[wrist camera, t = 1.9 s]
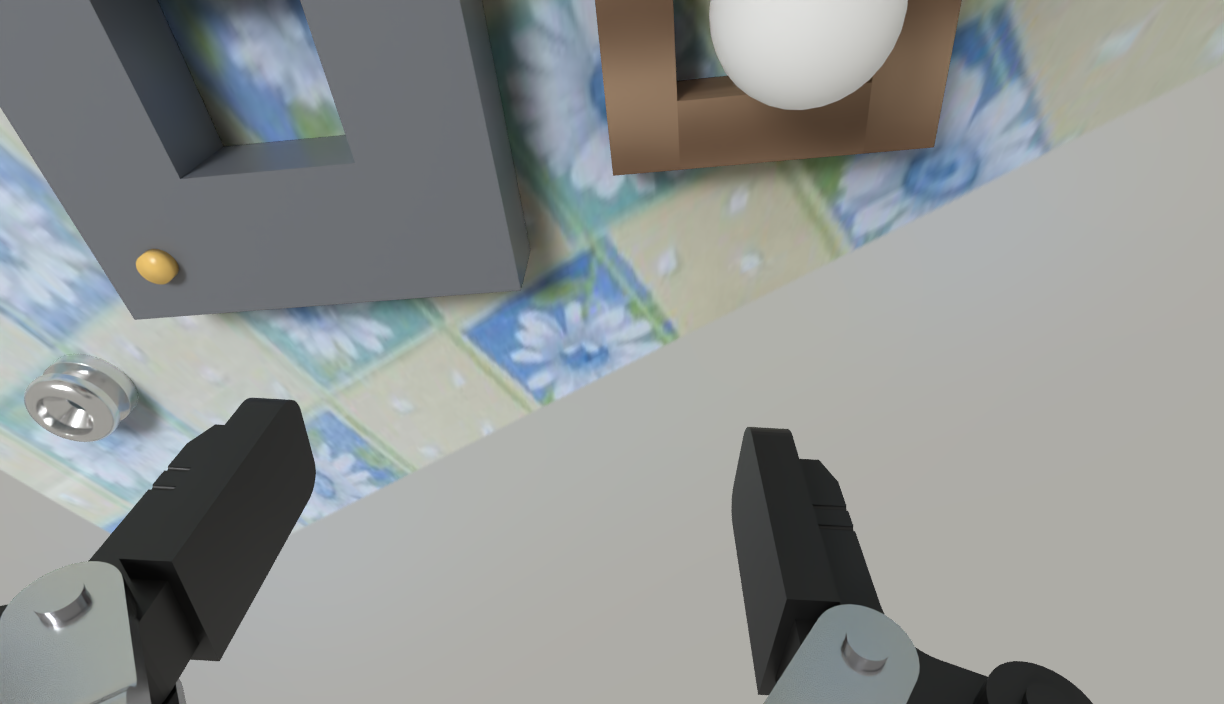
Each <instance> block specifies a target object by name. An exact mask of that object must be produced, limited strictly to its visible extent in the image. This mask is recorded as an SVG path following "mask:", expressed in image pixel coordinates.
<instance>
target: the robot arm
mask: <svg viewBox="0 0 1224 704" xmlns="http://www.w3.org/2000/svg"><path fill="white" fill-rule="evenodd" d="M315 474H316V469H315V462H314V458H313V454H312V451H311V447H310V443H309V439H308V436H307V432H306V428H305V424H304V421H303V417H302V413H301V410H300V407H299V405H298V404H297V402H295V401H294V400H283V399H265V398H248V399H246V400H245V401H244V402H243V403H242V404H241V405H240V406H239V408H238V409H237V410H236V412H235V413H234V414H233V415H232V417H231V418H230V419H229V420H228V422H227V423H226V424H225V425H214V426H212V427H211V428H209V429H208V430H207V431H205V432H204V433H202V434H201V435H199V436H198V437H196V438H195V439H193V440H192V441H190V442H189V443H187V444H186V445H185V447H184V448H183V449H182V450H181V451H180V453H179V454H178V455H177V456H176V457H175V459H174V460H173V461H172V462H171V463H170V465H169V466H168V470H167V471H164V472H163V473H162V474H161V475H160V476H159V478H158V479H157V480H156V481H155V482H154V484H153V488H152V490H148V491H147V492H146V493H145V494H144V496H143V497H142V498H141V499H140V500H139V502H138V503H137V504H136V505H135V506H134V508H133V509H132V510H131V511H130V512H129V513H128V515H127V516H126V517H125V518H124V519H123V521H122V522H121V523H120V524H119V525H118V527H117V528H116V529H115V530H114V531H113V533H112V534H111V535H110V536H109V537H108V539H107V540H106V541H105V542H104V543H103V545H102V546H101V547H100V548H99V550H98V551H97V552H96V553H95V554H94V555H93V557H92V558H91V559H90V560H89V561H88V562H81V563H76V564H71V565H68V566H65V567H62V568H59V569H57V570H54V571H52V572H50V573H48V574H46V575H44V576H42V577H40V578H39V579H37V580H36V581H34V582H32V583H31V584H30V585H28V586H27V587H26V588H24V589H23V590H22V591H21V592H20V593H19V594H18V595H17V596H16V597H14V598H13V600H12V601H11V602H10V603H9V604H8V605H4V606H0V704H186V701H185V695H184V690H183V686H182V683H181V681H180V679H179V677H180V675H181V674H182V672H183V670H184V669H185V667H186V665H187V663H188V662H189V660H190V659H191V660H208V661H220V659H221V658H222V656H223V654H224V652H225V650H226V648H227V647H228V645H229V643H230V641H231V639H232V638H233V636H234V634H235V632H236V630H237V628H238V627H239V625H240V623H241V621H242V620H243V618H244V616H245V614H246V612H247V610H248V609H249V607H250V605H251V603H252V602H253V600H254V598H255V596H256V594H257V593H258V591H259V589H260V587H261V585H262V584H263V582H264V580H265V578H266V576H267V575H268V573H269V571H270V569H271V567H272V565H273V564H274V562H275V560H276V558H277V556H278V554H279V553H280V551H281V549H282V547H283V546H284V544H285V542H286V540H287V538H288V537H289V535H290V533H291V531H292V529H293V528H294V526H295V524H296V522H297V520H298V519H299V517H300V515H301V513H302V511H303V510H304V508H305V506H306V504H307V502H308V501H309V499H310V497H311V494H312V491H313V488H314V483H315ZM732 523H733V530H734V537H735V543H736V550H737V557H738V564H739V570H740V576H741V583H742V590H743V597H744V603H745V610H746V616H747V623H748V630H749V637H750V643H751V650H752V656H753V663H754V670H755V677H756V683H757V690H758V695H759V694H760V695H769V696H768V698H767V699H766V701H765V702H764V704H1093V703H1092V702H1091V701H1090V700H1089V699H1088V698H1087V697H1086V695H1085V694H1084V693H1083V692H1082V691H1081V690H1079V689H1078V688H1077V687H1076V686H1075V685H1074V684H1072V683H1071V682H1070V681H1068V680H1067V679H1065V678H1064V677H1062V676H1061V675H1059V674H1057V673H1055V672H1054V671H1052V670H1049V669H1047V668H1045V667H1043V666H1040V665H1037V664H1033V663H1028V662H1020V661H1019V662H1018V661H1013V662H1007V663H1004V664H1001V665H999V666H998V667H996V668H995V669H994V670H993V671H992V672H991V674H990V675H989V677H987V676H984V675H981V674H978V673H975V672H972V671H970V670H966V669H964V668H961V667H958V666H955V665H952V664H950V663H947V662H943V661H941V660H939V659H936V658H934V657H931V656H929V655H927V654H925V653H924V652H922V651H920V650H919V649H917V648H916V647H914V645H913V643H912V641H911V639H910V638H909V637H908V635H907V634H906V633H905V632H904V631H903V629H902V628H901V627H900V626H899V625H898V624H896V623H895V622H894V621H893V620H892V619H890V618H889V617H887V616H886V615H884V612H883V610H882V608H881V606H880V603H879V600H878V597H877V594H876V591H875V588H874V585H873V582H872V580H871V576H870V574H869V571H868V568H867V565H866V562H865V559H864V556H863V553H862V550H861V547H860V544H859V541H858V539H857V536H856V533H855V531H853V524H852V521H851V518H850V515H849V512H848V511H846V504H845V501H844V498H843V495H842V492H841V489H840V486H839V483H838V481H837V480H836V479H835V478H834V477H833V476H832V475H831V473H830V472H829V471H828V470H827V469H826V468H825V466H824V465H823V464H822V463H821V462H820V461H819V460H809V459H799V457H798V453H797V450H796V447H795V443H794V440H793V436H792V433H791V431H790V430H788V429H775V428H758V427H747V428H746V430H745V432H744V436H743V441H742V446H741V451H740V457H739V461H738V466H737V471H736V476H735V481H734V487H733V494H732Z"/></svg>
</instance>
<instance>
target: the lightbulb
mask: <svg viewBox="0 0 1224 704" xmlns="http://www.w3.org/2000/svg"><path fill="white" fill-rule="evenodd" d="M907 4H908V0H711V1H710V11H709V20H710V33H711V38H712V41H713V45H714V48H715V52H716V55H717V57H718V59H719V61H720V63H721V65H722V67H723V69H724V71H725V73H726V74H727V75H728V76H729V78H730V79H731V80H732V81H733V82H734V84H735V85H736V86H737V87H738V88H740V89H741V90H742V91H743V92H745V93H746V94H747V95H748V96H750V97H752V98H754V99H756V100H758V101H760V102H762V103H764V104H766V105H768V106H772V107H776V108H781V109H785V110H805V109H811V108H817V107H822V106H825V105H828V104H830V103H833V102H836V101H839V100H841V99H842V98H844V97H846V96H848V95H849V94H851V93H853V92H855V91H856V90H857V89H858V88H860V87H861V86H862V85H863V84H865V83H866V82H867V81H868V80H870V79H871V77H872V76H873V75H874V74H875V73H876V72H877V71H878V70H879V69H880V67H881V66H882V65H883V64H884V62H885V61H886V59H887V58H888V56H889V54H890V53H891V51H892V50H893V48H894V46H895V44H896V42H897V39H898V37H899V35H900V33H901V30H902V27H903V23H904V19H905V15H906V11H907Z"/></svg>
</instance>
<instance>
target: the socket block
mask: <svg viewBox="0 0 1224 704" xmlns="http://www.w3.org/2000/svg"><path fill="white" fill-rule="evenodd" d="M300 1H301V4H302V7H303V10H304V13H305V16H306V19H307V22H308V25H309V28H310V31H311V34H312V37H313V40H314V43H315V46H316V49H317V52H318V55H319V57H320V60H321V63H322V66H323V69H324V72H325V75H326V78H327V81H328V84H329V87H330V90H331V93H332V96H333V99H334V102H335V105H336V108H337V111H338V114H339V117H340V119H341V122H342V125H343V128H344V131H345V134H346V135H340V136H330V137H319V138H309V139H298V140H288V141H277V142H267V143H257V144H246V145H236V146H225V147H223V145H222V142H221V140H220V138H219V136H218V133H217V131H216V129H215V127H214V125H213V122H212V120H211V118H210V116H209V114H208V111H207V109H206V107H205V105H204V103H203V100H202V98H201V96H200V94H199V92H198V89H197V87H196V85H195V83H194V80H193V78H192V76H191V74H190V72H189V69H188V67H187V65H186V63H185V61H184V58H183V56H182V54H181V52H180V50H179V47H178V45H177V43H176V41H175V39H174V36H173V34H172V32H171V30H170V27H169V25H168V23H167V21H166V19H165V16H164V14H163V12H162V10H161V8H160V5H159V3H158V1H157V0H0V107H1V109H2V110H3V112H4V114H5V115H6V117H7V118H8V120H9V121H10V123H11V125H12V126H13V128H14V129H15V131H16V133H17V134H18V136H19V137H20V139H21V140H22V142H23V144H24V145H25V147H26V148H27V150H28V151H29V153H30V155H31V156H32V158H33V159H34V161H35V163H36V164H37V166H38V167H39V169H40V170H41V172H42V174H43V175H44V177H45V178H46V180H47V182H48V183H49V185H50V186H51V188H52V189H53V191H54V193H55V194H56V196H57V197H58V199H59V201H60V202H61V204H62V205H63V207H64V208H65V210H66V212H67V213H68V215H69V216H70V218H71V220H72V221H73V223H74V224H75V226H76V227H77V229H78V231H79V232H80V234H81V235H82V237H83V239H84V240H85V242H86V243H87V245H88V246H89V248H90V250H91V251H92V253H93V254H94V256H95V258H96V259H97V261H98V262H99V264H100V265H101V267H102V269H103V270H104V272H105V273H106V275H107V277H108V278H109V280H110V281H111V283H112V284H113V286H114V288H115V289H116V291H117V292H118V294H119V296H120V297H121V299H122V300H123V302H124V303H125V305H126V307H127V308H128V310H129V311H130V313H131V315H132V316H133V318H134V319H135V320H137V319H150V318H163V317H176V316H189V315H202V314H216V313H229V312H242V311H255V310H268V309H281V308H294V307H307V306H321V305H334V304H347V303H360V302H373V301H386V300H399V299H412V298H425V297H439V296H452V295H465V294H478V293H491V292H504V291H517V290H521V288H522V284H523V280H524V275H525V271H526V267H527V263H528V259H529V255H530V246H529V241H528V236H527V231H526V225H525V220H524V215H523V210H522V205H521V200H520V194H519V189H518V184H517V179H516V174H515V169H514V163H513V158H512V153H511V148H510V143H509V138H508V133H507V127H506V122H505V117H504V112H503V107H502V102H501V96H500V91H499V86H498V81H497V76H496V71H495V65H494V60H493V55H492V50H491V45H490V40H489V34H488V29H487V24H486V19H485V14H484V9H483V4H482V0H300Z"/></svg>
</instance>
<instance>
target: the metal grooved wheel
mask: <svg viewBox="0 0 1224 704" xmlns="http://www.w3.org/2000/svg"><path fill="white" fill-rule="evenodd" d="M137 402H138V392H137V389H136V387H135V385H134V384H133V382H132V381H131V380H130V378H129V377H128V376H127V375H126V374H125V373H124V372H122V371H121V370H120V369H118V368H117V367H116V366H114V365H112V364H111V363H109V362H107V361H105V360H102V359H100V358H97V357H94V356H90V355H85V354H68V355H64V356H62V357H60V358H58V359H57V360H56V361H55V362H54V363H52V364H51V365H50V366H49V367H48V368H47V369H46V370H45V371H44V373H43V375H42V376H39V377H37V378H36V379H35V380H34V381H32V382H31V383H30V384H29V386H28V387H27V389H26V391H25V394H24V403H25V407H26V409H27V411H28V413H29V414H30V416H31V417H32V418H33V419H34V420H35V421H36V422H37V423H38V424H39V425H40V426H42V427H43V428H44V429H46V430H48V431H49V432H51V433H53V434H55V435H57V436H60V437H62V438H65V439H69V440H73V441H79V442H92V441H98V440H101V439H104V438H106V437H108V436H109V435H110V434H112V433H113V432H114V431H115V429H116V428H117V427H118V426H119V423H120V421H122V420H123V419H125V418H126V417H127V416H128V415H129V413H130V412H131V411H132V410H133V409H134V408H135V406H136V405H137Z"/></svg>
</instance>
